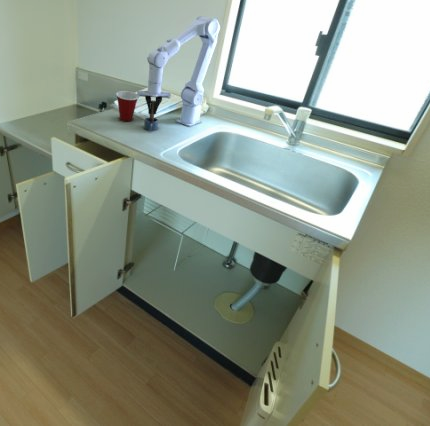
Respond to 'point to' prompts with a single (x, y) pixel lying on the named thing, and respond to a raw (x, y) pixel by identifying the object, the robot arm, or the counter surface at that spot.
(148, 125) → the coffee cup
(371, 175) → the counter surface
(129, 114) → the plastic cup
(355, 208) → the counter surface
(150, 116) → the stirrer
